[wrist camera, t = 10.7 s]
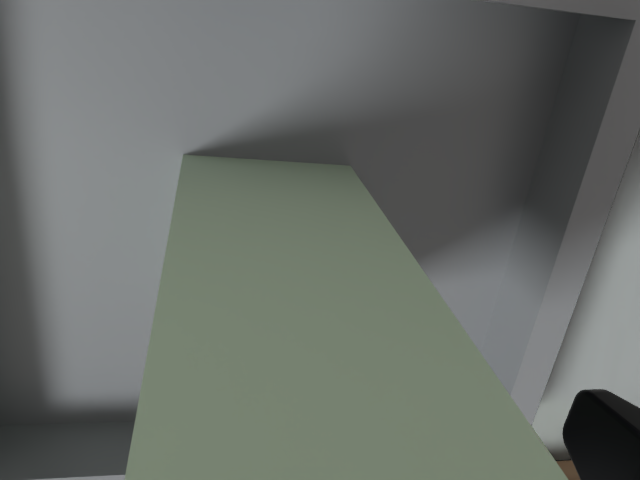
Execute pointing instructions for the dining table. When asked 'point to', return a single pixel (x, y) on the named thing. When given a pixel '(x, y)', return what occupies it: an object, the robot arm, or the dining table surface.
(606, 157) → the grey tray
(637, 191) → the dining table surface
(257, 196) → the tall mint pillar
